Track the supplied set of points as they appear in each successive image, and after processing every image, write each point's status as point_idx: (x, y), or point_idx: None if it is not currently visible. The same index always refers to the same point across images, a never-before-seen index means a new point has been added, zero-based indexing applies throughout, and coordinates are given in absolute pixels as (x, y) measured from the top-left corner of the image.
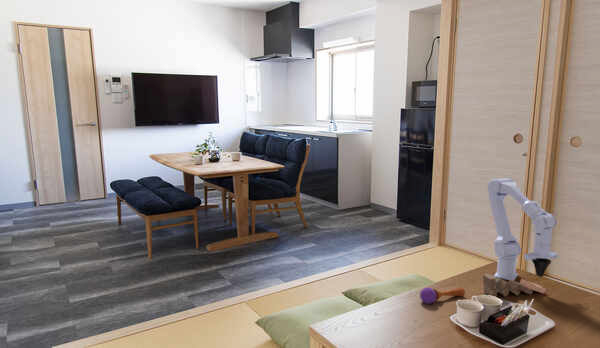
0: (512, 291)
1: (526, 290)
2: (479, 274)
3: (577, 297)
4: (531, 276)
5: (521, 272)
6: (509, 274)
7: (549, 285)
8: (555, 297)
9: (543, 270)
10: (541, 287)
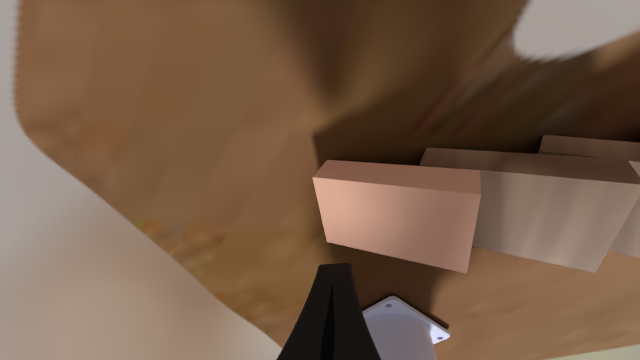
0: (638, 144)
1: (487, 159)
2: (494, 349)
3: (125, 95)
4: (268, 318)
5: None
6: (402, 333)
7: (231, 246)
8: (280, 100)
9: (324, 323)
10: (341, 188)
